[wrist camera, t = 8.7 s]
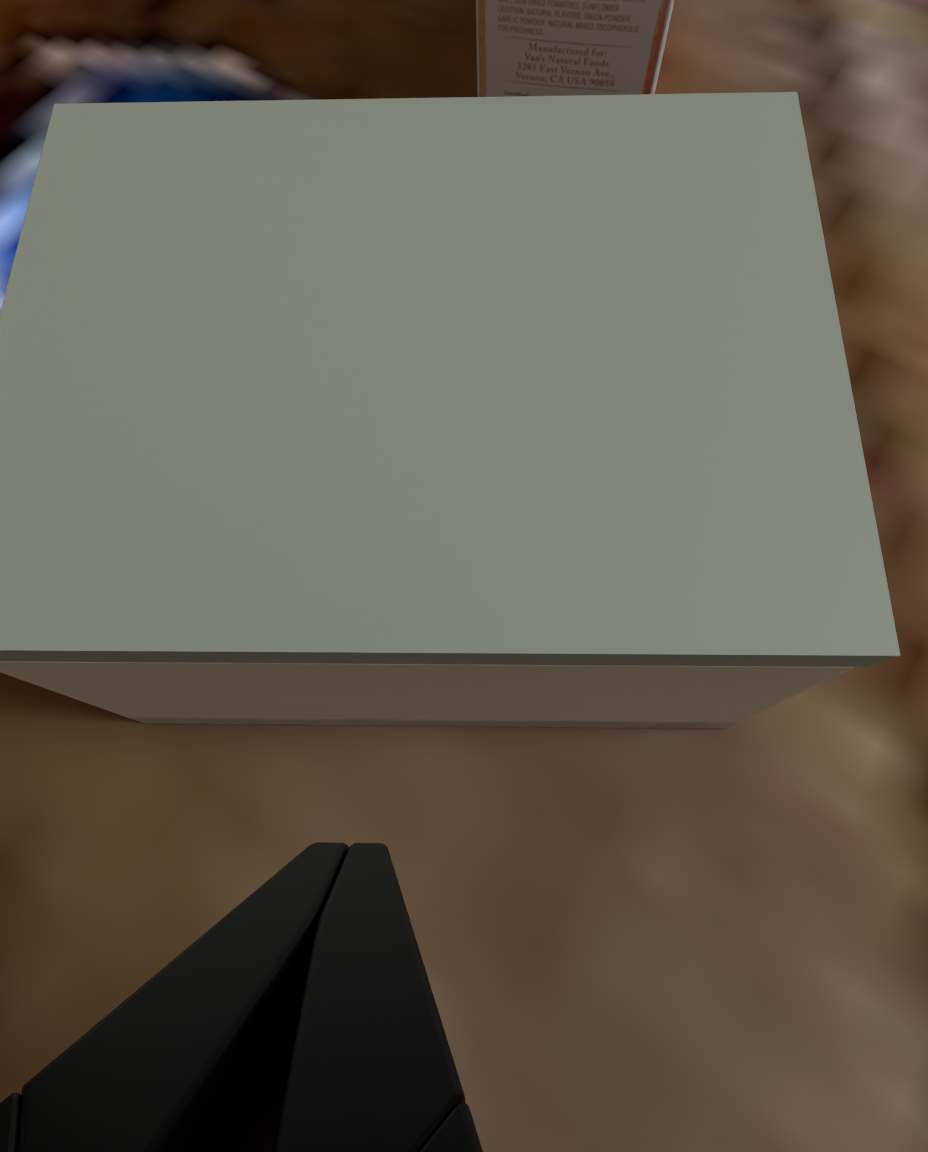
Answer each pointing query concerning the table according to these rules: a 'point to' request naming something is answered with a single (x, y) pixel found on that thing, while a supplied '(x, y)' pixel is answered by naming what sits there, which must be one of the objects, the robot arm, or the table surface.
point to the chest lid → (432, 389)
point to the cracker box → (570, 46)
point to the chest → (425, 693)
